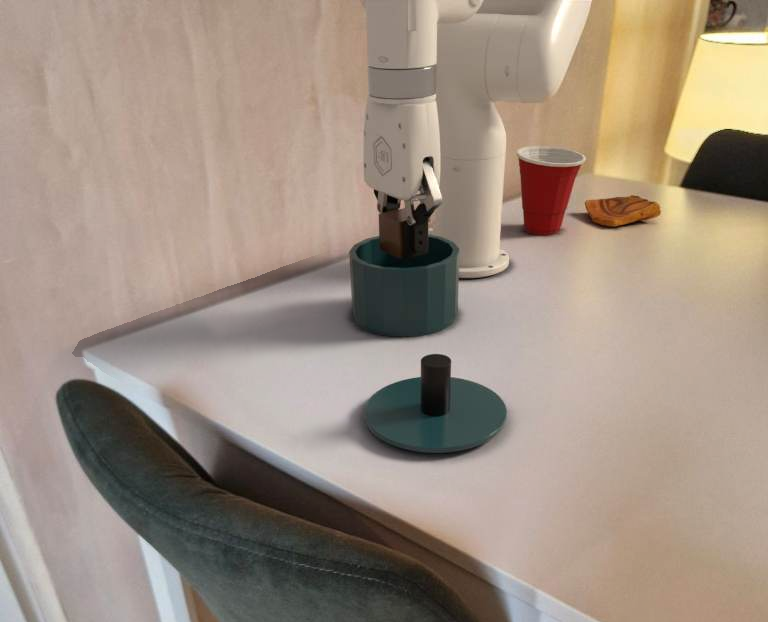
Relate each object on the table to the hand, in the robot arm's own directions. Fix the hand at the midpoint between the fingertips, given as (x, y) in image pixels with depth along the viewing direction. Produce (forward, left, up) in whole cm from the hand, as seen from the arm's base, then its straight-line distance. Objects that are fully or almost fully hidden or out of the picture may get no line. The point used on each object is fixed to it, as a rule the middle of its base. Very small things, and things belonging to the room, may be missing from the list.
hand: (403, 248), depth 95 cm
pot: (0, 0, -9) cm, 9 cm away
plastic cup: (-15, +38, -9) cm, 42 cm away
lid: (+24, -12, -8) cm, 28 cm away
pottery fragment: (-12, +52, -9) cm, 54 cm away
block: (0, 0, 0) cm, 0 cm away
